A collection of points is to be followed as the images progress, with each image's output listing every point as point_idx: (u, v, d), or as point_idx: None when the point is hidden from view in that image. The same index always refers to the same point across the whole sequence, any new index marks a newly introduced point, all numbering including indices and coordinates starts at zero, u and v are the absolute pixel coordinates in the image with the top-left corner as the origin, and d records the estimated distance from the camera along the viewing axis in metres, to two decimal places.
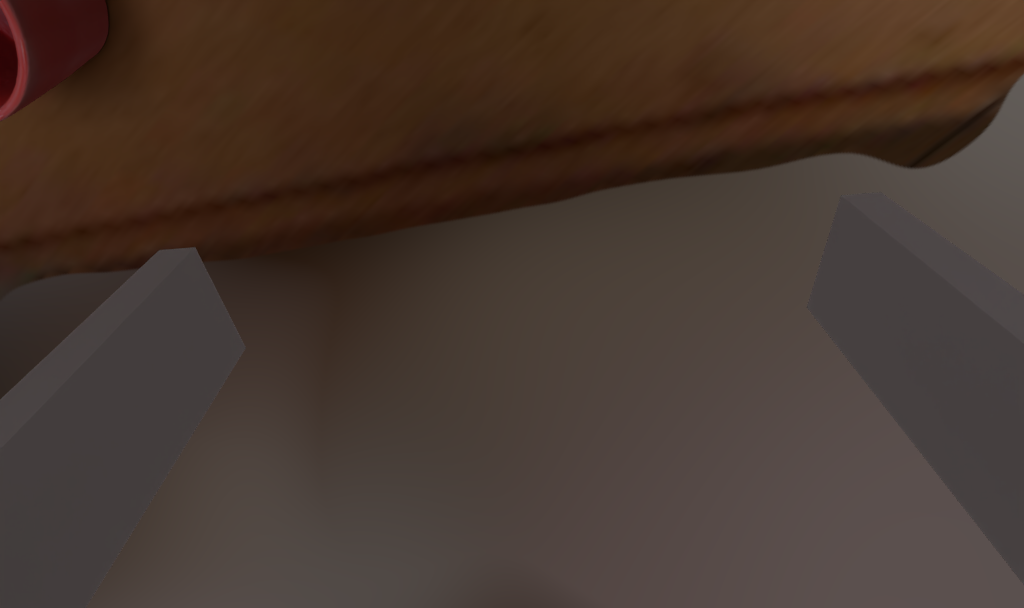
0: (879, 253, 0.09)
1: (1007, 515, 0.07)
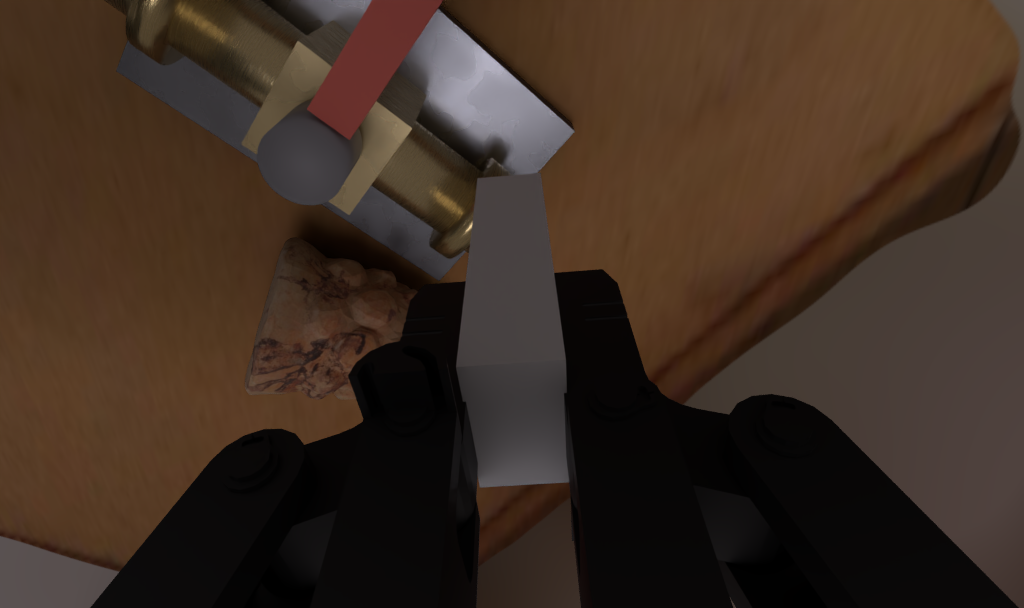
0: None
1: None
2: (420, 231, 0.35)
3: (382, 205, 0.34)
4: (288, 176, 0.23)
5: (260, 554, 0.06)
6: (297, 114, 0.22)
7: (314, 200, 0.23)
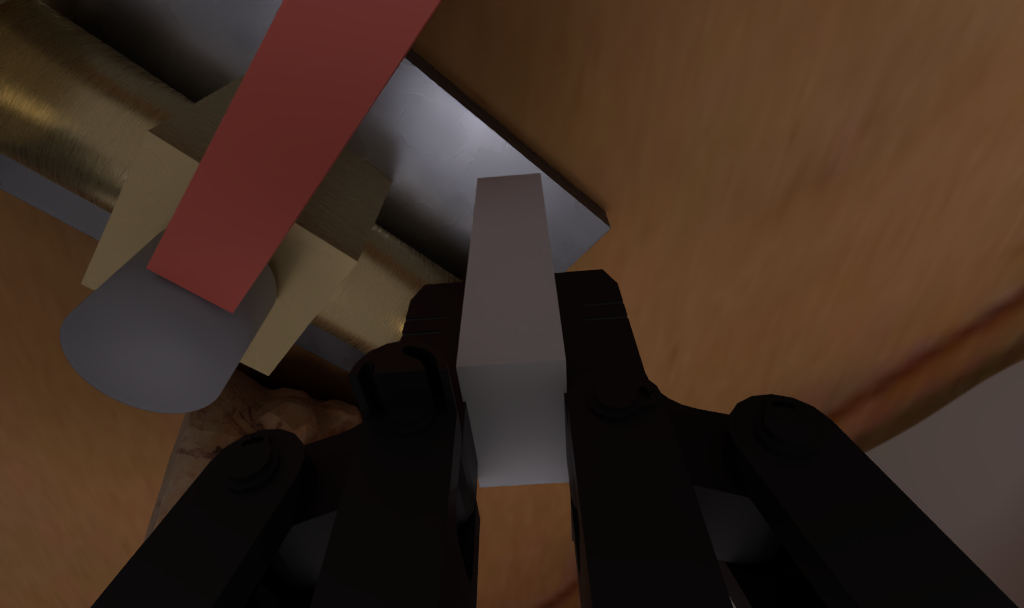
0: None
1: None
2: None
3: None
4: (125, 375, 0.13)
5: (260, 554, 0.06)
6: (139, 267, 0.12)
7: (179, 407, 0.13)
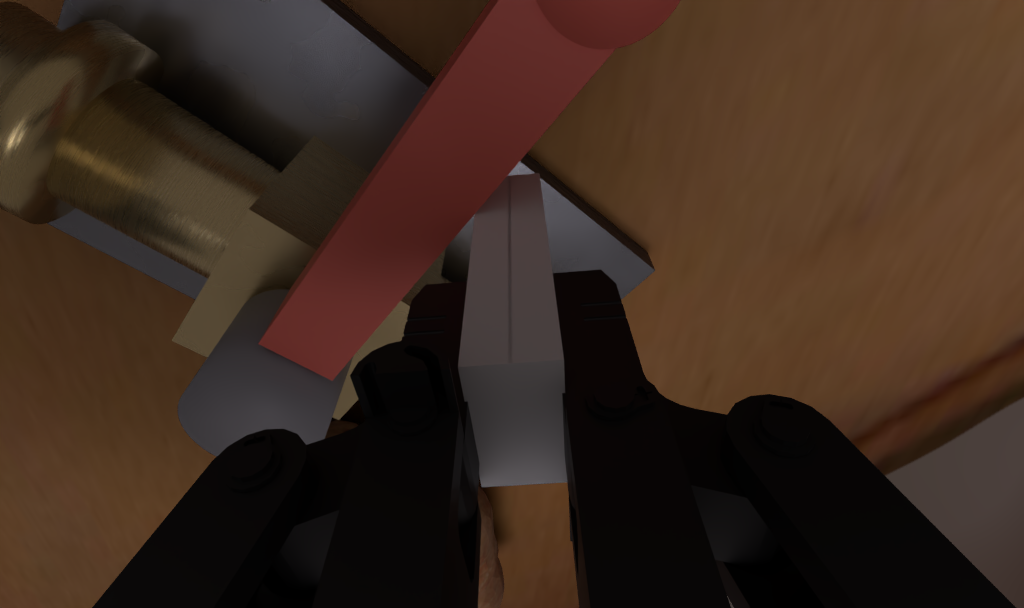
0: None
1: None
2: None
3: None
4: (233, 438, 0.14)
5: (262, 554, 0.06)
6: (246, 339, 0.14)
7: None
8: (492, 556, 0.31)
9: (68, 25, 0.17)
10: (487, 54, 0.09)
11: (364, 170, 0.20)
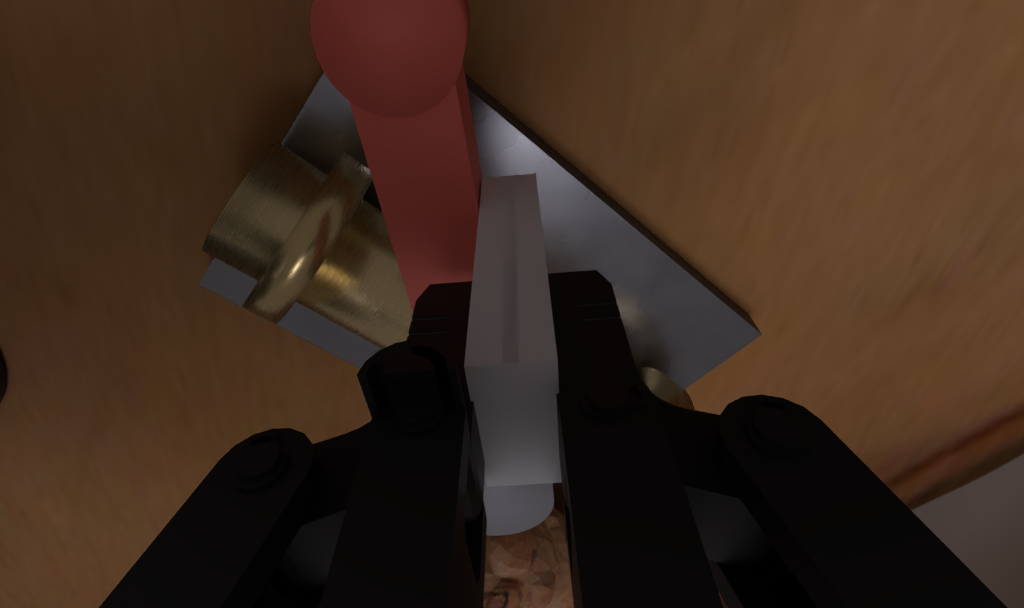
0: None
1: None
2: None
3: None
4: (493, 518, 0.17)
5: (269, 554, 0.06)
6: None
7: (537, 519, 0.17)
8: None
9: (290, 145, 0.19)
10: (388, 172, 0.10)
11: None
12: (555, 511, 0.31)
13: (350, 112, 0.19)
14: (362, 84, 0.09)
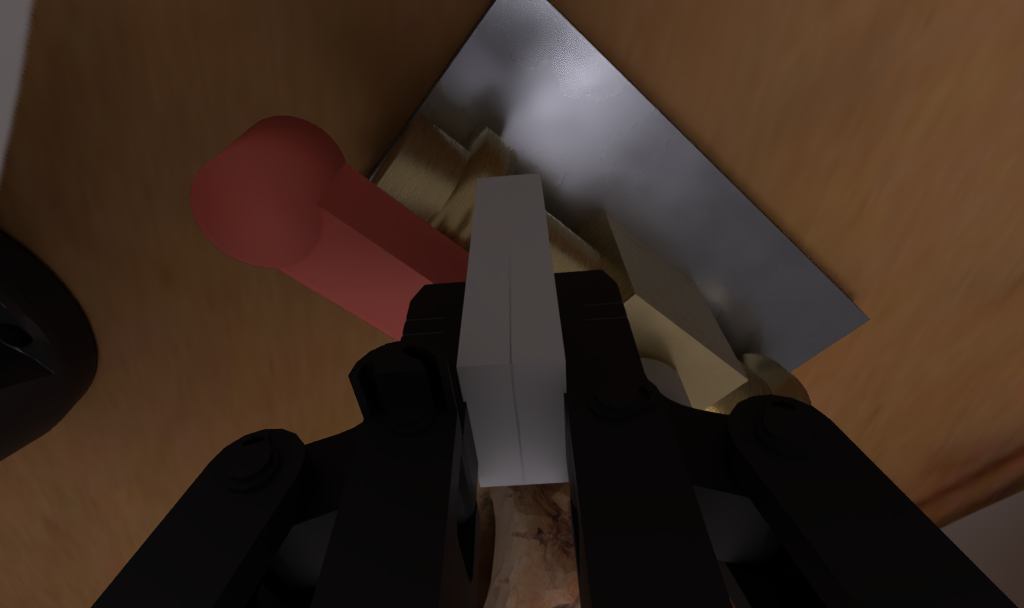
0: None
1: None
2: None
3: None
4: None
5: (261, 554, 0.06)
6: None
7: None
8: None
9: None
10: (339, 292, 0.12)
11: (637, 238, 0.22)
12: None
13: (486, 86, 0.18)
14: (269, 252, 0.12)
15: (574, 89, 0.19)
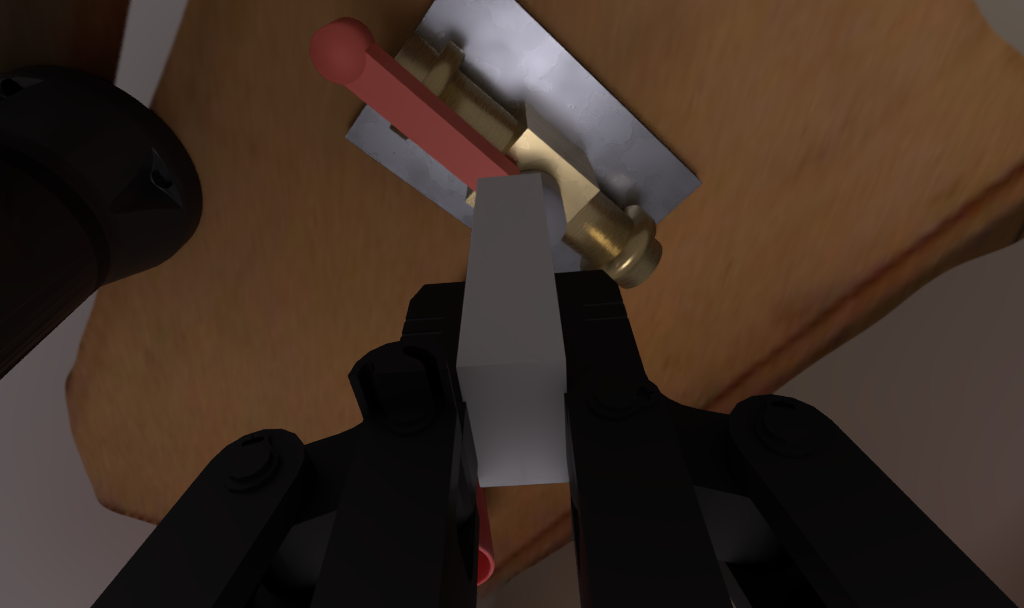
0: None
1: None
2: (563, 261, 0.43)
3: None
4: None
5: (260, 555, 0.06)
6: None
7: (562, 222, 0.30)
8: None
9: None
10: (371, 99, 0.26)
11: (547, 120, 0.36)
12: None
13: (451, 20, 0.32)
14: (341, 75, 0.26)
15: (501, 22, 0.33)
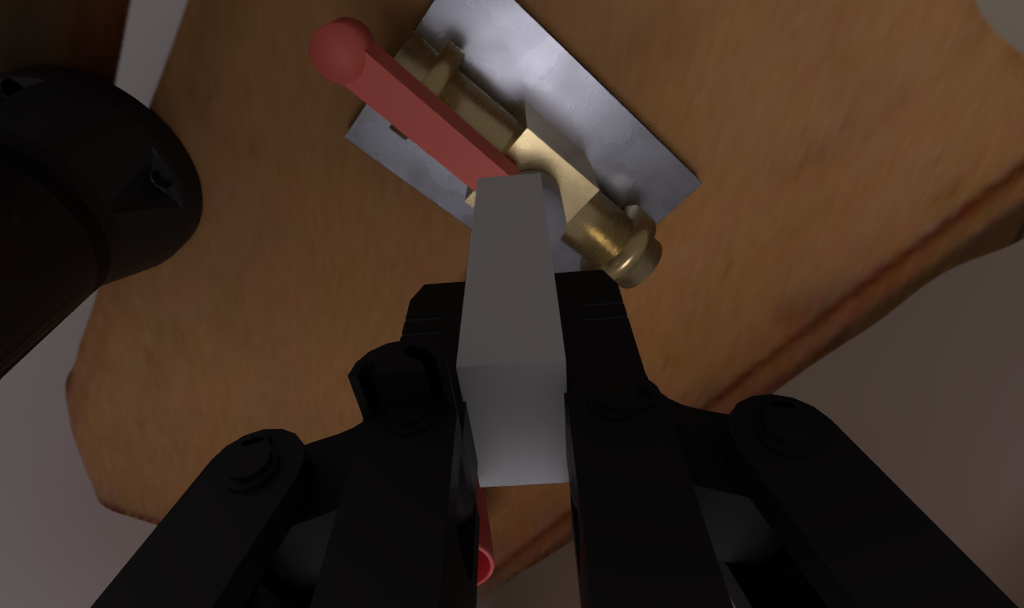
0: None
1: None
2: (563, 261, 0.43)
3: None
4: None
5: (260, 554, 0.06)
6: None
7: (562, 221, 0.30)
8: None
9: None
10: (371, 99, 0.26)
11: (546, 120, 0.36)
12: None
13: (450, 19, 0.32)
14: (341, 75, 0.26)
15: (501, 22, 0.33)
